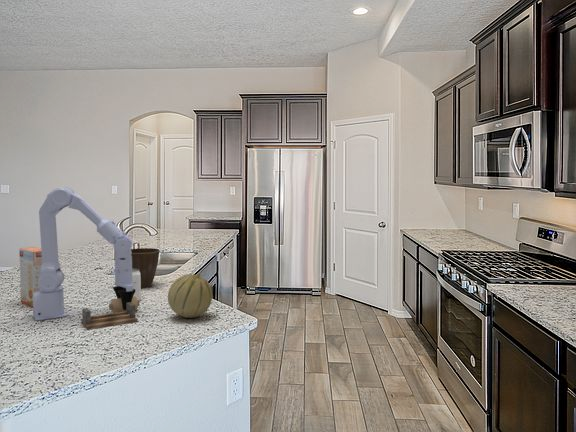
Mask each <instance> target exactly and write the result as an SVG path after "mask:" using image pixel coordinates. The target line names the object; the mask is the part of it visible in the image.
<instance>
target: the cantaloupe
mask: <svg viewBox="0 0 576 432" xmlns="http://www.w3.org/2000/svg"><path fill="white" fill-rule="evenodd" d="M212 291H213V290H212V287H211V285H210V283H209V282H208V280H207V279H206V278H204V277H202V276H201V273H197V274H192V273H191V274H190V273H187V274H183V275H181V276H179V277H178V278H176V279H175V280H174V281H173V282H172V284H171V285H170V286H169V288H168V292H167V302H168V305H169V307H170V309H171V310H172V311H173V312H174V313H175V314H176V315H178V316H180V317H183V318H185V319H193V318H194V319H195V318H198V317H200V316H202V315H204V313H206V312H207V311H208V310H209V308H210V306H211V303H212V301H213V292H212Z"/></svg>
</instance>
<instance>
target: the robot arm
mask: <svg viewBox="0 0 576 432" xmlns="http://www.w3.org/2000/svg"><path fill="white" fill-rule="evenodd" d="M67 207H68V208H69V209H73V210H77V211H79V212H80V213H81V214H83V215H84V216H85V217H86V218H87V219H89V221H91V223H93V224H94V225H95V226H96V232H97V233H98V234H99V235H100V236H101V237H102V238H103V239H105V240H106V242H108V243H109V244H111V245H112V246H113V250H114V254H115V255H114V286H113V287H112V290H113V291H114V294H115V296H116V299H118V298H121V301H122V307H123V310H127V305H126V303H128V302H131V301H132V298H133V295H134V293H135V291H136V290H135V289H133V283H136V281H132V256H131V254H132V252H131V249H132V246H133V240H132V238H131V237H130V235H128V234H126V232H125V231H123V230H121V229H120V228H119V227H118V226H117V225H116V222H115V221H114V220H111V219H106V218H103V217H102V216H101V214H99V213H98V212H97V211H96V210H95V209H94V208H93V207H92V206H91V205H90V204H89V203H88V202H87V200H85V199H84V198H83V197H82V196H81V195H79V194H78V193H77V192H75V191H74V190H73V189H72V188H69V187H57V188H55V189H53V190H52V191H51V192H49V193H48V194H47V195H46V198H45V199H44V201H43V203H42V205H41V206H40V208H39V210H38V216H39V217H38V219H39V233H40V247H41V251H42V266H41V270H40V271H41V275H40V277H39V280H38V285H39V287H40V288H41V289H40V291H38V292H34V293H33V307H32V316H33V317H34V319H35V321H41V320H47V319H48V320H50V319H55V318H56V319H57V318H64V317H67V316H68V315H67V313H66V311H65V302H64V299H65V297H64V295H65V294H64V287H63V285H62V283H64V280H65V274H64V272H63V270H62V268H61V263H60V261H59V249H58V232H57V231H58V230H57V217H56V216H57V215H58V214H59V213H60V212H61V211H62V210H63V209H65V208H67Z"/></svg>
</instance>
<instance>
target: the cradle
mask: <svg viewBox="0 0 576 432" xmlns="http://www.w3.org/2000/svg"><path fill="white" fill-rule="evenodd" d="M126 305H127V312H126V311H125V312H118V313H112V312H110V313H107V314H106V313H105V314H97V315H92V314H91V310H90V309H89V307H83V308H82V309H81V312H82V318H80V322H81V324H82V325H83V326H84V328H85V329H87V330H93V329H101V328H106V327H113V326H119V325H120V326H121V325H127V324H133V323H138V322H139V319H138V317H137V316H136V310H135V305H134V304H133V303H131V302H128V303H126Z"/></svg>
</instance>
